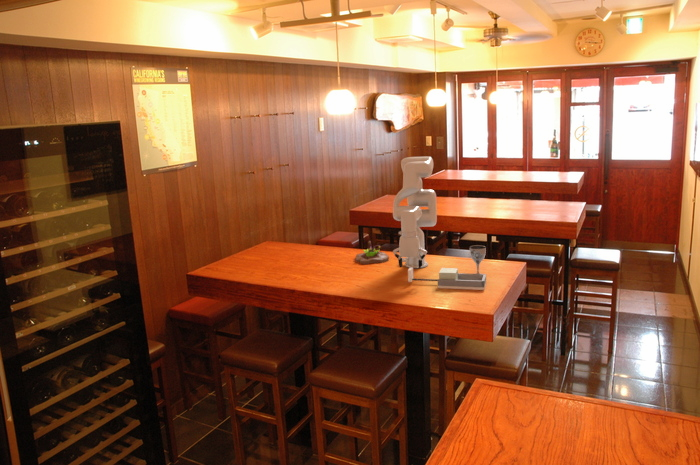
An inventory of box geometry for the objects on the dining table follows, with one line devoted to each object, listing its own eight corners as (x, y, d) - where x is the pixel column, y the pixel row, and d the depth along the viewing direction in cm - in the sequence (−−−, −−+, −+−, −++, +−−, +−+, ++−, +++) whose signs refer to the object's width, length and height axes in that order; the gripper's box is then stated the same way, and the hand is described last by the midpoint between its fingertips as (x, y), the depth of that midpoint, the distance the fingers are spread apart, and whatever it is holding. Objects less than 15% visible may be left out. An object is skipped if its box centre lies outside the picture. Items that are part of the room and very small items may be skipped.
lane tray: (437, 288, 276) (437, 279, 275) (441, 280, 287) (441, 272, 286) (484, 289, 269) (484, 281, 268) (486, 282, 280) (486, 274, 279)
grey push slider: (407, 283, 282) (407, 271, 281) (410, 278, 289) (410, 266, 288) (455, 284, 275) (455, 272, 273) (458, 280, 282) (457, 267, 281)
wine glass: (474, 278, 287) (474, 249, 284) (467, 274, 294) (466, 246, 291) (488, 276, 289) (488, 247, 286) (481, 272, 296) (480, 244, 293)
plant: (385, 254, 346) (384, 236, 343) (391, 262, 327) (390, 243, 324) (352, 257, 343) (351, 239, 341) (357, 265, 324) (356, 246, 322)
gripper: (390, 235, 280) (392, 268, 284) (425, 236, 274) (426, 269, 279) (393, 231, 287) (395, 264, 291) (427, 232, 281) (428, 265, 286)
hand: (410, 266), depth 285 cm, fingers open, 9 cm apart
